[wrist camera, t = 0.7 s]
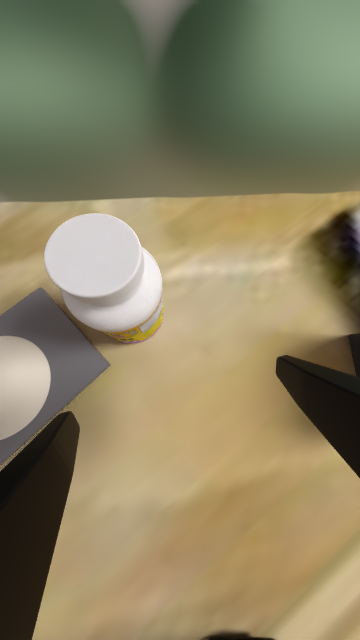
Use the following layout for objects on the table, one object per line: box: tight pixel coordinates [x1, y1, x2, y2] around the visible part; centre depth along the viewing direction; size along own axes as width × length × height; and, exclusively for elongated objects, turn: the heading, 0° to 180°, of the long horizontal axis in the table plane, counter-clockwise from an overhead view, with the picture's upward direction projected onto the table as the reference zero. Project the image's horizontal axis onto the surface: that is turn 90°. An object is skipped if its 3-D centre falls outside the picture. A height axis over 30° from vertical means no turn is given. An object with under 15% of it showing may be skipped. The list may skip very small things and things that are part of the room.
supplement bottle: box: [44, 213, 163, 343], centre depth 15 cm, size 7×7×13 cm
